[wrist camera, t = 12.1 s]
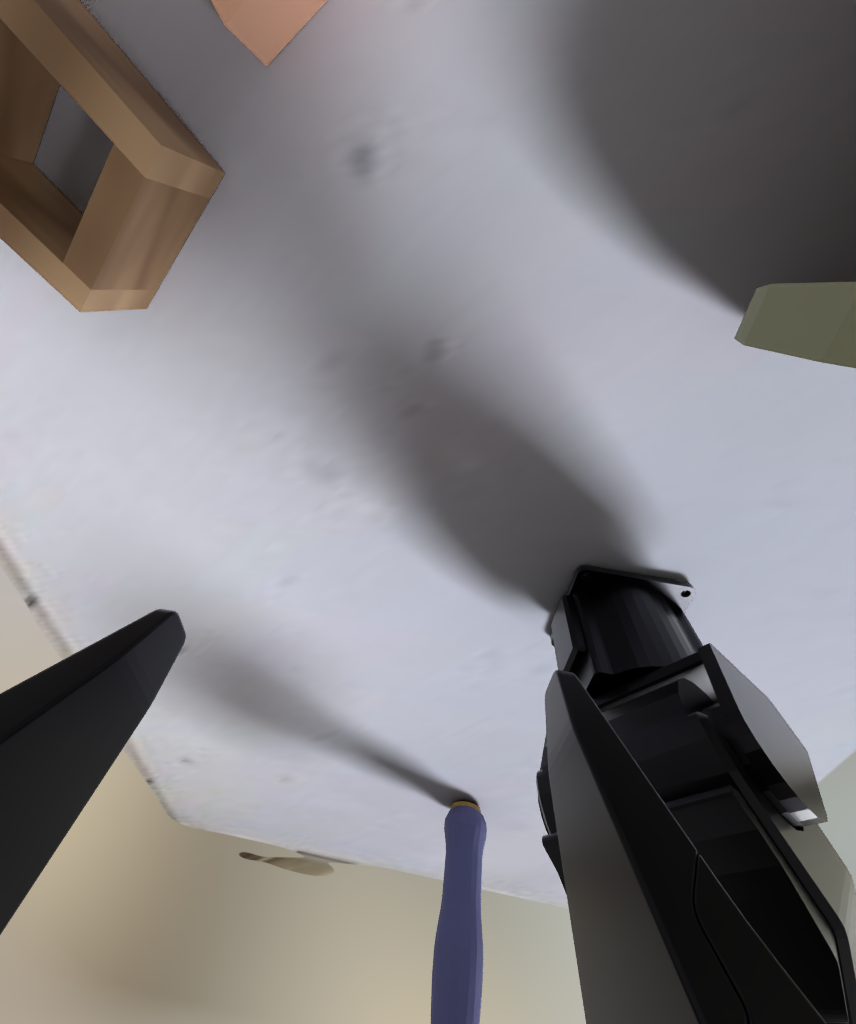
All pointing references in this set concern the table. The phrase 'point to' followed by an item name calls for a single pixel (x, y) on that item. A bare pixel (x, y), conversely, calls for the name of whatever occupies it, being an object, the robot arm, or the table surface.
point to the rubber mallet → (460, 921)
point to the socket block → (266, 22)
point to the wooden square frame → (124, 178)
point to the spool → (803, 321)
